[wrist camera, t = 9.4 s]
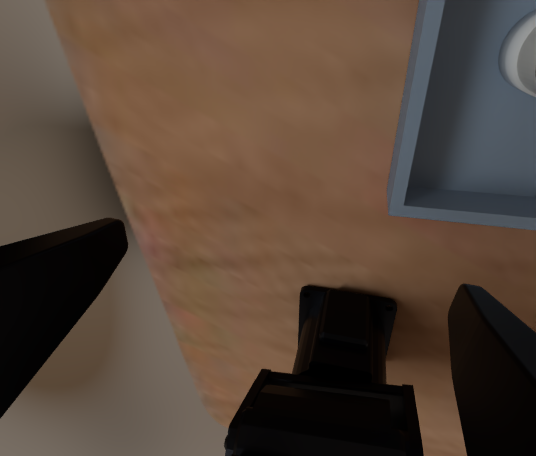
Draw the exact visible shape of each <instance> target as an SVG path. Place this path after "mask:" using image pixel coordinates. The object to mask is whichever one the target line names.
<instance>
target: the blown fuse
mask: <svg viewBox="0 0 536 456" xmlns="http://www.w3.org/2000/svg"><path fill="white" fill-rule="evenodd" d="M498 66H499V71H500V73H501V75H502V77H503V79H504V80H505V81H506V82H507V83H508V84H509V85H511V86H513V87H515V88H517V89H519V90H521V91H523V92H525V93H527V94H529V95H532V96H534V97H536V9H535V10H533V11H531V12H530V13H528V14H527V15H525V16H524V17H522V18H521V19H520V20H519V21H518V22H517V23H516V24H515V25H514V26H513V27H512V28H511V29H510V31H509V32H508V33H507V35H506V37H505V38H504V40H503V42H502V45H501V47H500V51H499V56H498Z"/></svg>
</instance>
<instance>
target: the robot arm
mask: <svg viewBox="0 0 536 456" xmlns="http://www.w3.org/2000/svg"><path fill="white" fill-rule="evenodd" d="M127 249H128V242H127V236H126V231H125V226H124V223H123V222H122V221H121V220H119V219H114V218H104V219H100V220H97V221H93V222H89V223H85V224H82V225H78V226H75V227H71V228H67V229H63V230H59V231H55V232H52V233H48V234H45V235H40V236H37V237H33V238H29V239H25V240H22V241H18V242H14V243H11V244H7V245H3V246H0V418H1V417H2V416H3V415H4V413H5V412H6V411H7V410H8V408H9V407H10V406H11V404H12V403H13V402H14V401H15V400H16V398H17V397H18V396H19V394H20V393H21V392H22V391H23V389H24V388H25V387H26V386H27V384H28V383H29V382H30V380H31V379H32V378H33V377H34V376H35V374H36V373H37V372H38V370H39V369H40V368H41V367H42V366H43V364H44V363H45V362H46V361H47V359H48V358H49V357H50V356H51V354H52V353H53V352H54V350H55V349H56V348H57V347H58V345H59V344H60V343H61V342H62V340H63V339H64V338H65V337H66V335H67V334H68V333H69V332H70V330H71V329H72V328H73V326H74V325H75V324H76V323H77V322H78V320H79V319H80V318H81V316H82V315H83V314H84V313H85V312H86V310H87V309H88V308H89V306H90V305H91V304H92V303H93V301H94V300H95V299H96V298H97V296H98V295H99V294H100V292H101V290H102V289H103V287H104V286H105V285H106V283H107V282H108V280H109V278H110V277H111V275H112V273H113V272H114V271H115V269H116V268H117V266H118V264H119V263H120V261H121V260H122V258H123V257H124V255H125V254H126V251H127ZM305 292H308V293H310V294H306V293H305ZM387 305H390V306H391V307H387ZM396 311H397V303H396V302H395V301H394V300H393V299H390V298H383V297H377V296H370V295H364V294H357V293H351V292H344V291H338V290H331V289H325V288H319V287H312V286H304V287H302V288H301V292H300V305H299V332H298V350H297V354H296V359H295V363H294V367H293V371H292V374H290V373H281V372H272V371H271V370H269V369H261V371H260V373H259V375H258V376H257V378H256V380H255V381H254V383H253V385H252V386H251V388H250V390H249V392H248V393H247V395H246V397H245V399H244V400H243V402H242V404H241V406H240V407H239V409H238V411H237V413H236V414H235V416H234V418H233V420H232V421H231V423H230V425H229V429H228V435H227V437H226V439H225V443H224V447H225V449H226V453H225V456H424V454H423V446H422V439H421V433H420V427H419V420H418V414H417V408H416V402H415V395H414V389H413V385H404V384H402V386H397V385H388V384H386V354H387V350H388V346H389V341H390V337H391V333H392V329H393V324H394V320H395V316H396ZM448 327H449V342H450V356H451V370H452V379H453V385H454V391H455V396H456V401H457V406H458V411H459V416H460V421H461V426H462V431H463V436H464V442H465V447H466V452H467V456H536V333H535V332H534V331H533V330H532V329H531V328H529V327H528V326H527V325H526V324H525V323H524V322H522V321H521V320H520V319H519V318H518V317H516V316H515V315H514V314H513V313H512V312H511V311H509V310H508V309H507V308H506V307H505V306H503V305H502V304H501V303H500V302H499V301H497V300H496V299H495V298H494V297H493V296H492V295H490V294H489V293H488V292H487V291H486V290H484V289H483V288H482V287H480V286H475V285H469V284H462V285H460V286H459V288H458V290H457V292H456V295H455V297H454V299H453V302H452V304H451V306H450V309H449V313H448Z"/></svg>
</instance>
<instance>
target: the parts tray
mask: <svg viewBox="0 0 536 456" xmlns="http://www.w3.org/2000/svg"><path fill="white" fill-rule="evenodd" d="M535 9H536V0H419V5H418V11H417V17H416V22H415V28H414V34H413V40H412V46H411V52H410V57H409V63H408V69H407V75H406V81H405V87H404V93H403V98H402V104H401V110H400V116H399V122H398V128H397V133H396V139H395V145H394V151H393V157H392V163H391V168H390V174H389V180H388V186H387V202H388V215H391V216H401V217H411V218H420V219H430V220H440V221H450V222H460V223H470V224H479V225H489V226H499V227H509V228H519V229H529V230H536V97H534V96H532V95H529V94H527V93H525V92H523V91H521V90H519V89H517V88H515V87H513V86H511V85H509V84H508V83H507V82H506V81H505V80H504V79H503V77H502V75H501V73H500V71H499V66H498V56H499V51H500V47H501V45H502V42H503V40H504V38H505V37H506V35H507V33H508V32H509V31H510V29H511V28H512V27H513V26H514V25H515V24H516V23H517V22H518V21H519V20H520V19H521V18H522V17H524V16H525V15H527V14H528V13H530V12H531V11H533V10H535Z"/></svg>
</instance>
